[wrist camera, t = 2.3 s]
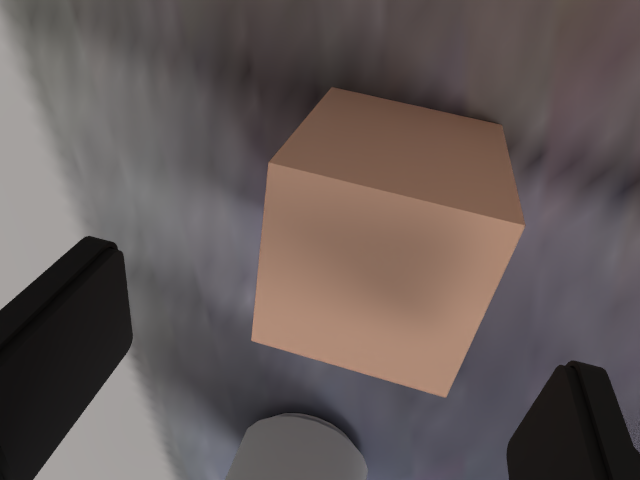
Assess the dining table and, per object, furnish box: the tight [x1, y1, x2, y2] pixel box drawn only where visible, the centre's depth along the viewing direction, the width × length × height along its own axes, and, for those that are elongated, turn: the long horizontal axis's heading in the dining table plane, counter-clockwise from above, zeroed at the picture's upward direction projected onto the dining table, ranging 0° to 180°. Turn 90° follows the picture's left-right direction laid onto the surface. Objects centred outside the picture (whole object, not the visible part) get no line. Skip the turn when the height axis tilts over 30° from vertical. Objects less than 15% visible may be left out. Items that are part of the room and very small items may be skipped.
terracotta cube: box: [251, 87, 525, 398], centre depth 16 cm, size 6×6×7 cm
